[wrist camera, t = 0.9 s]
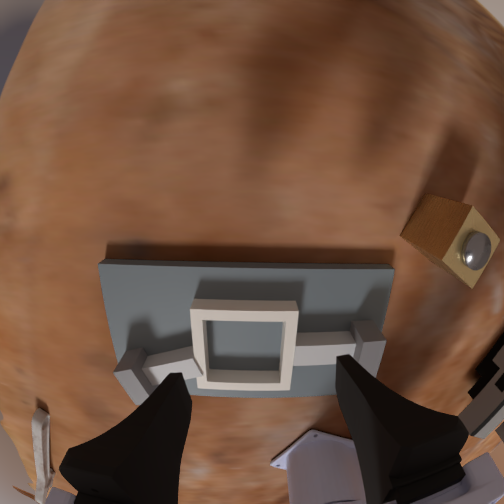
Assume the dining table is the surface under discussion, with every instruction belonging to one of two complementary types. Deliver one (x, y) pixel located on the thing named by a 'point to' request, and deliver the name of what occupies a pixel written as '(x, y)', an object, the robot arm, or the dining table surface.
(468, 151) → the dining table surface
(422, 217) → the block
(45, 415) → the wrench
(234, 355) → the base
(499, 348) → the game console
